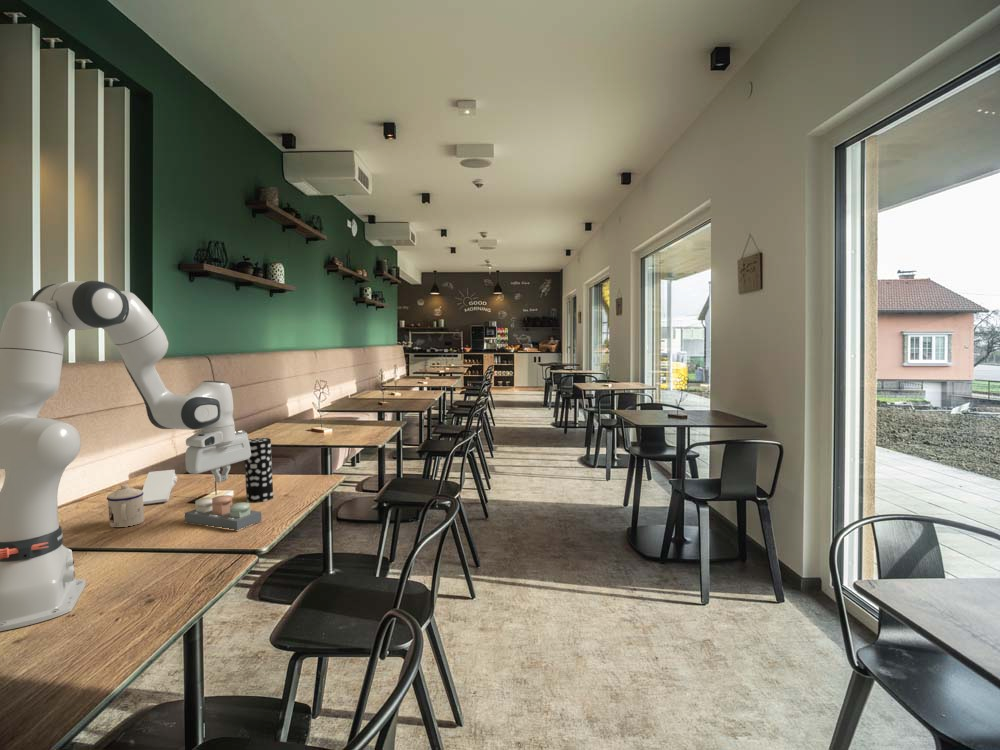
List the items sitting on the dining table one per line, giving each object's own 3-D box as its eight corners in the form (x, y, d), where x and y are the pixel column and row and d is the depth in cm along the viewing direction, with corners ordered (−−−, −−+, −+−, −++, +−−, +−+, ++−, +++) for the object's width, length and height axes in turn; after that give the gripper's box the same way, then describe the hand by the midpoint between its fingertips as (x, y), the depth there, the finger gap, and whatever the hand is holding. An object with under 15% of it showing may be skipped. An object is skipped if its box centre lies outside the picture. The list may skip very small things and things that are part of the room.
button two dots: (254, 519, 167) (253, 503, 167) (240, 525, 162) (239, 508, 162) (241, 517, 169) (240, 501, 169) (226, 523, 164) (225, 506, 164)
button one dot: (219, 514, 173) (218, 498, 172) (204, 519, 168) (203, 503, 168) (207, 512, 175) (206, 496, 174) (192, 517, 170) (191, 501, 170)
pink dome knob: (236, 512, 170) (235, 496, 169) (221, 517, 165) (221, 501, 165) (223, 510, 172) (222, 494, 171) (209, 515, 167) (208, 499, 167)
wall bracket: (167, 519, 190) (175, 488, 214) (172, 499, 189) (179, 470, 214) (133, 517, 185) (144, 485, 210) (137, 496, 184) (149, 466, 209)
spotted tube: (277, 498, 192) (274, 439, 191) (253, 504, 186) (250, 443, 185) (266, 493, 198) (263, 437, 196) (242, 499, 192) (239, 440, 190)
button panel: (261, 521, 169) (261, 511, 168) (237, 531, 161) (236, 520, 160) (210, 513, 177) (209, 503, 177) (185, 522, 169) (184, 512, 168)
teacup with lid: (111, 521, 171) (108, 483, 170) (146, 516, 175) (144, 479, 174) (104, 534, 160) (101, 493, 159) (142, 528, 164) (140, 489, 163)
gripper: (239, 428, 177) (241, 471, 179) (180, 441, 159) (183, 489, 160) (254, 429, 175) (257, 473, 176) (196, 442, 156) (199, 491, 158)
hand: (221, 481), depth 168 cm, fingers closed
